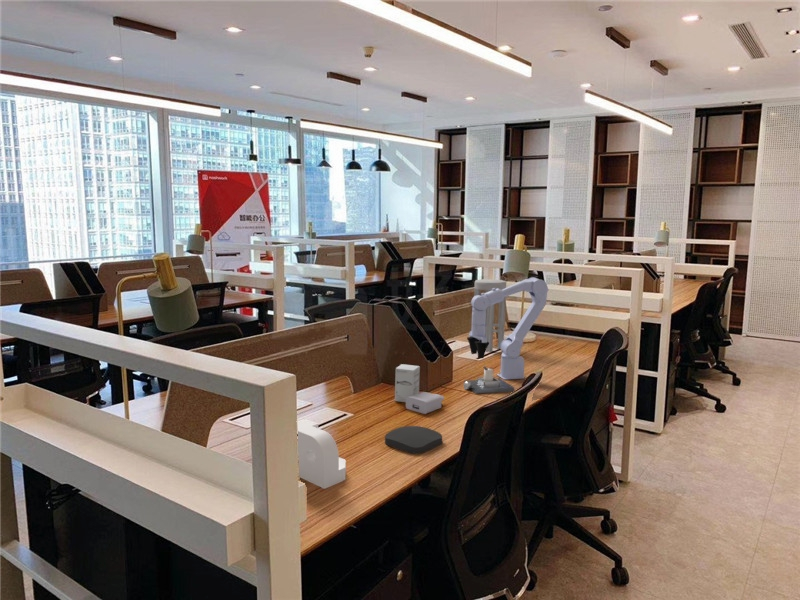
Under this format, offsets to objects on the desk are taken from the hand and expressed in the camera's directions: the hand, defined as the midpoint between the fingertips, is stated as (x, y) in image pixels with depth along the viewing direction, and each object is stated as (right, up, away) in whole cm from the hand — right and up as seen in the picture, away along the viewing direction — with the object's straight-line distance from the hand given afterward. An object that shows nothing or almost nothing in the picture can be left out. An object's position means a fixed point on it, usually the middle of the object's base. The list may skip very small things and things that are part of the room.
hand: (477, 355), depth 252 cm
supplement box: (-30, -14, -30) cm, 45 cm away
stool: (+13, -2, +57) cm, 58 cm away
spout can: (+3, -12, -13) cm, 18 cm away
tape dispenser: (-54, -23, -93) cm, 110 cm away
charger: (-22, -15, -37) cm, 46 cm away
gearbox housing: (+3, -12, -13) cm, 18 cm away
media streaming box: (-28, -20, -71) cm, 79 cm away
